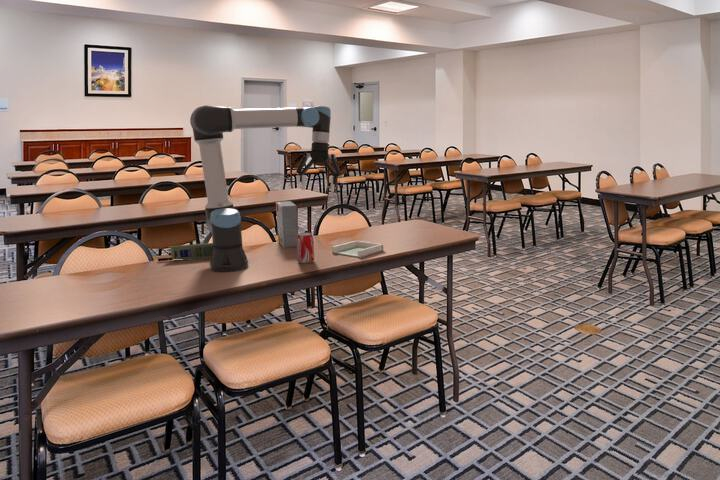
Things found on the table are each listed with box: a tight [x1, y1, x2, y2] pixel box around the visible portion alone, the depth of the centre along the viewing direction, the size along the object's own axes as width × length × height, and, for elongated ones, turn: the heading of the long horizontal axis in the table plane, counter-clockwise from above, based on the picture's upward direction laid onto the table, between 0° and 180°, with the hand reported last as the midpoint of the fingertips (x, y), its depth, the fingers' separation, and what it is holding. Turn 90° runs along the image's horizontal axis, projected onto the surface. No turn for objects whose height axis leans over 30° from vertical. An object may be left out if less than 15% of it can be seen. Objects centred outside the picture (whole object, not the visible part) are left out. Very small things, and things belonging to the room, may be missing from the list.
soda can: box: [296, 232, 315, 264], centre depth 234 cm, size 7×7×12 cm
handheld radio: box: [157, 242, 213, 262], centre depth 247 cm, size 7×3×25 cm
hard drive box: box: [275, 200, 299, 249], centre depth 271 cm, size 16×8×20 cm, turn 17°
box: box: [331, 240, 384, 259], centre depth 251 cm, size 16×16×3 cm
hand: (317, 190), depth 251 cm, fingers open, 13 cm apart
